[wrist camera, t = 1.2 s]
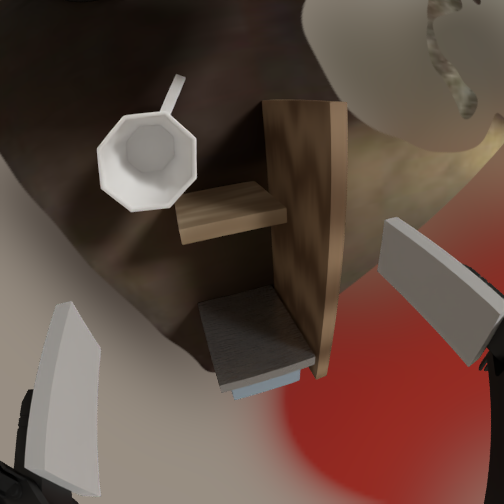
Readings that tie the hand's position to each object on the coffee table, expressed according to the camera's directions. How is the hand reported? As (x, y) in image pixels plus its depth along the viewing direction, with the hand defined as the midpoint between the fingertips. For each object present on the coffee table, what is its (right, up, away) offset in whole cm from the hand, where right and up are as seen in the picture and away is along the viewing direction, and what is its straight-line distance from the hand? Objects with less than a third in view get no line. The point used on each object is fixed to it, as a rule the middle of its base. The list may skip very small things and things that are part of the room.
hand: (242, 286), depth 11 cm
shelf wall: (+3, +5, +20) cm, 21 cm away
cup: (-8, +12, +12) cm, 19 cm away
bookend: (-2, -4, +23) cm, 24 cm away
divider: (-3, +7, +17) cm, 18 cm away
